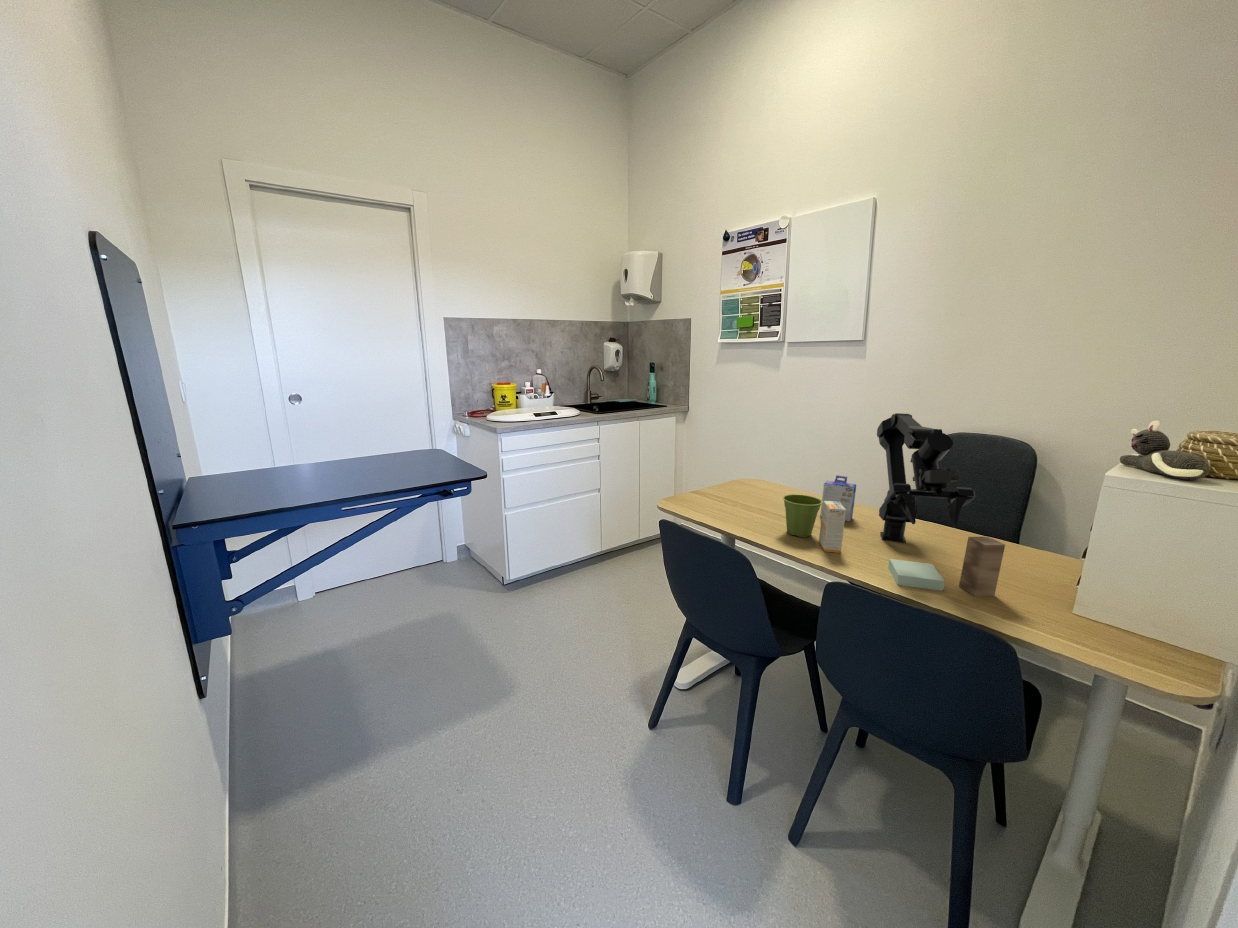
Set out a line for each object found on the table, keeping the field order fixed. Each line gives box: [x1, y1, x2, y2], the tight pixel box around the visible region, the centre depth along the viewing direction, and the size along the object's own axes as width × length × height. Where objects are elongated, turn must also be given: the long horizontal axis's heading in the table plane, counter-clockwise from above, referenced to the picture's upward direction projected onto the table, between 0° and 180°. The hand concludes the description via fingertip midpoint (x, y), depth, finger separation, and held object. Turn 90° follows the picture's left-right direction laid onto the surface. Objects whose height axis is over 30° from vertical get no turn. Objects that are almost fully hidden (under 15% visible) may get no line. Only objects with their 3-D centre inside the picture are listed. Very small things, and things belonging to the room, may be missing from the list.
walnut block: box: [958, 536, 1006, 597], centre depth 117 cm, size 5×5×13 cm
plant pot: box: [782, 493, 823, 538], centre depth 153 cm, size 12×12×11 cm
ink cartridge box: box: [819, 474, 857, 522], centre depth 168 cm, size 10×6×14 cm, turn 58°
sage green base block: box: [887, 558, 946, 592], centre depth 124 cm, size 10×10×3 cm
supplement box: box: [818, 501, 846, 554], centre depth 142 cm, size 8×5×13 cm, turn 168°
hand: (934, 525), depth 122 cm, fingers open, 9 cm apart
